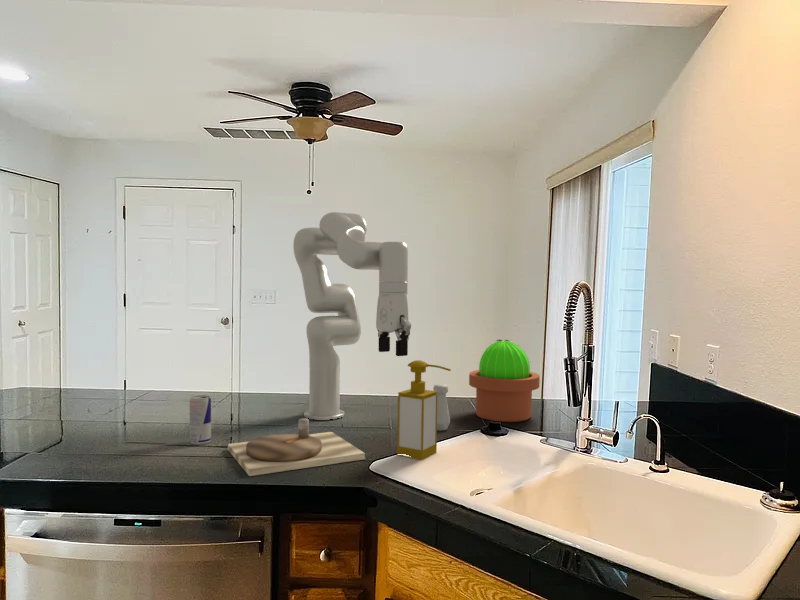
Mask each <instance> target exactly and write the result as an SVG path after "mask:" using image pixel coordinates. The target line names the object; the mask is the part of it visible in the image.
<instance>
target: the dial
mask: <svg viewBox="0 0 800 600" xmlns="http://www.w3.org/2000/svg"><path fill="white" fill-rule="evenodd" d="M297 422H298V423H297V424H298V427H297V428H298V431H297V433H280V434H269V435H264V436H260V437H257V438H254V439H251V440H250V441H247V442H248V443H247V445H246V453H247V455H249V456H250V457H252V458H255V459H260V460H266V461H291V460H299V459H304V458H308V457H311V456H314V455H316V454H318V453H319V452H320V451H321V449H322V442H321V440H320V439H318V438H316V437H313V436H310V435H309V434H310V432H309V431H310V419H308V418H306V417H304V418H303V417H302V418H299V419H298V421H297Z"/></svg>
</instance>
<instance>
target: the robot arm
mask: <svg viewBox="0 0 800 600" xmlns="http://www.w3.org/2000/svg"><path fill="white" fill-rule="evenodd" d="M318 225H319V226H318V227H304V228H301V229H300V230H298V231H297V232H296V233H295V235H294V238H293V244H292V245H293V254H294V259H295V261H296V263H297V265H298V269H299V270H300V274H301V279H302V283H303V291H304V297H305V302H306V305H307V308H308V310H309V312H311V313H315V314H337V315H320V316H315V317H313V318H311V319H310V320H309V321H308V322H307V325H306V328H305V329H306V339H307V342H308V343H307V344H308V352H309V353H308V355H309V360H308V361H309V363H308V364H309V365H308V366H309V379H308V380H309V382H308V383H309V384H308V385H309V386H308V388H309V392H308V393H309V395H308V396H309V397H308V399H309V400H308V401H309V403H308V404H309V405H308V406H309V408H308V409H307V410H305V411H304V412H303V416H304V418H306V419H308V418H309V420H313V419H314V420H315V421H331V420H330V419H333V420H337V418H339V419H341V417H342V418H344V416H345V411H344V410H342V409H341V408H340V403H341V402H340V399H341V398H340V396H341V395H340V393H341V392H340V390H341V387H340V386H341V385H340V383H341V381H340V380H341V362H340V357H339V354H338V353H337V352H336V350H335V348H334V347H337V346H348V345H349V346H351V345H354V344H356V343H358V342H359V340H360V339H361V334H362V329H361V321H360V316H359V311H358V310H359V309H358V306H357V300H356V296H355V295H356V294H355V293H354V291H353V289H352V288H351V287H350V286H349V285H348V284H344V283H333V282H331V280H330V276H329V270H328V268H327V267H326V265H325V263H324V262H323V261H322V260H321V259H320V258H319V257H318V255H324V256H325V255H326V256H338V258H339V260H340V261H342V263H344V264H345V265H347V266H348V267H350V268H351V269H355V270H361V271H362V270H363V271H364V270H371V271H373V270H374V271H378V297H377V305H376V319H375V320H376V321H375V323H376V324H375V326H376V327H375V328H376V330H377V337H378V352H379V353H384V352H385V353H386V352H390V351H391V337H390V333H392V334H393V333H394V334H395V337H396V339H397V340H395V356H396V357H404V356H408V350H409V349H408V347H409V346H408V344H409V337H410V335H411V328H412V323H410V321H409V307H408V305H409V304H408V284H409V283H408V277H409V275H408V268H409V267H408V266H409V259H408V258H409V256H408V255H409V249H408V248H409V247H408V245H407V243H405V242H403V241H383V242H378V241H377V242H376V241H365V240H366V234H367V230H368V227H367V226H368V225H367V222H366V220H365V218H364V216H363V217H362V216H361V215H360V214H357V213H347V212H337V211H336V212H335V211H333V212H327V213H326V214H325V215H323V216H322V217H321V219H320V220H319V224H318Z"/></svg>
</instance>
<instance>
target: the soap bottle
mask: <svg viewBox="0 0 800 600" xmlns="http://www.w3.org/2000/svg"><path fill="white" fill-rule="evenodd" d="M407 367H410V372H411V373H414V380H411V381H410V388H409V389H406V390H402V391H399V392H398V393H397V433H396V434H397V437H396V438H397V439H396V440H397V443H396V444H397V446H396V447H397V449H396V455H397V454H406V455H409V456H411V457H412V458H411V459H415V460H419V461H423V460H425V459H427V458H429V457H431V456H433V455H435V454H437V442H438V441H437V438H438V437H437V436H438V434H437V432H438V430H437V391H433V390H429V389H426V381H424V380H422V373H426V372H427V368H428V367H431V368H439V369H442V370H445V371H449V372H450V371H451V370H452V369H451V368H448V367H445V366H441V365H437V364H436V365H435V364H429V363H428V362H425V361H423V360H413V361H411V362H410V363H408V364H407Z"/></svg>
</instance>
